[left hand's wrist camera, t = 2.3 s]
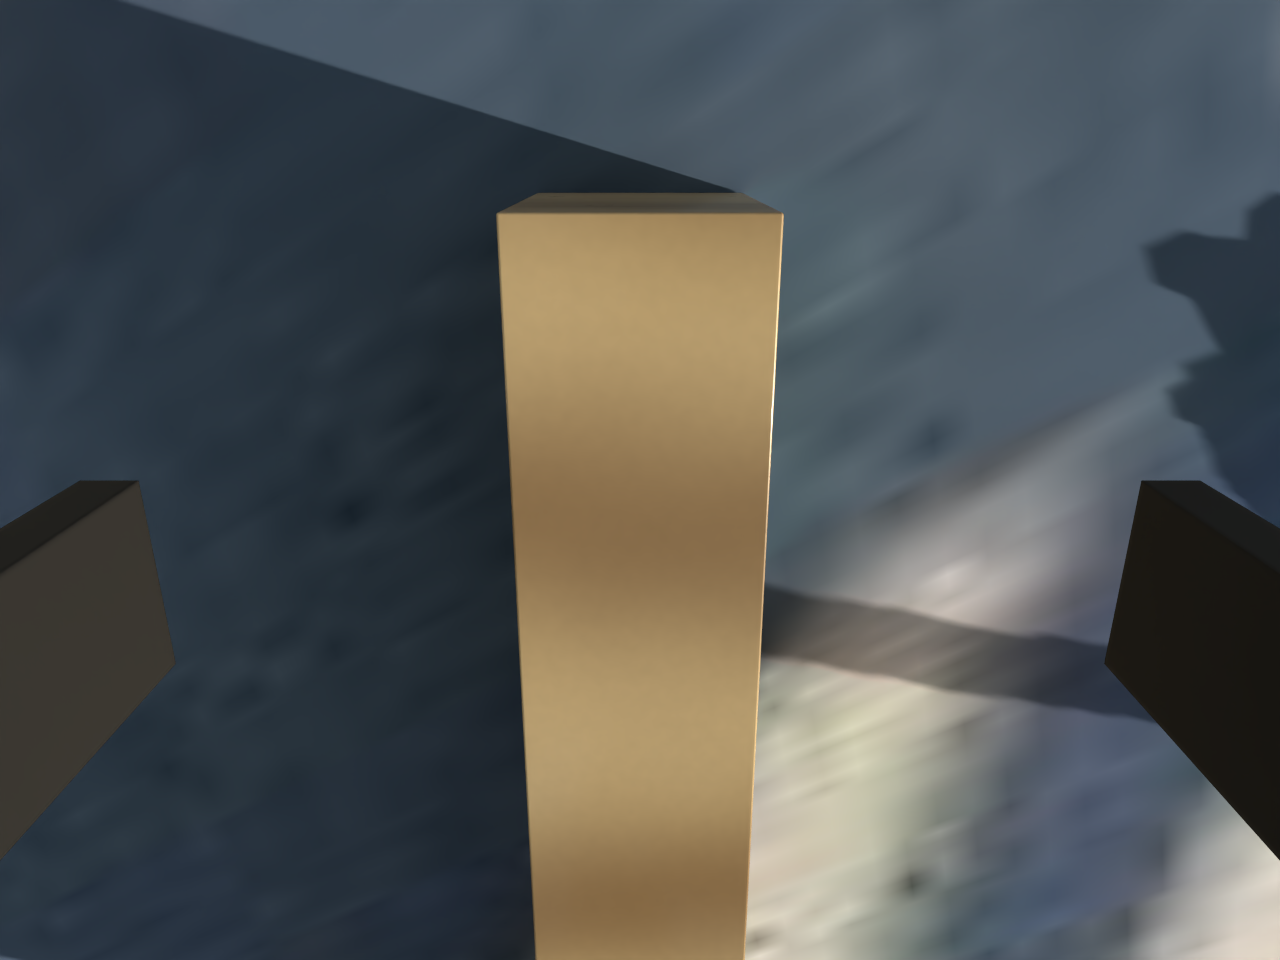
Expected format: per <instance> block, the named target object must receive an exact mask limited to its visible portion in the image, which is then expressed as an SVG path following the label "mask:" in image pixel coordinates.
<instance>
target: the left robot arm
mask: <svg viewBox="0 0 1280 960" xmlns="http://www.w3.org/2000/svg"><path fill="white" fill-rule="evenodd" d="M175 664H176V663H175V658H174V653H173V648H172V643H171V638H170V633H169V628H168V623H167V618H166V613H165V609H164V604H163V599H162V594H161V589H160V584H159V579H158V574H157V569H156V564H155V559H154V554H153V550H152V545H151V540H150V535H149V530H148V525H147V520H146V515H145V510H144V505H143V500H142V495H141V491H140V486H139V481H78V482H77V483H75V484H74V485H72V486H70V487H69V488H67V489H65V490H64V491H62V492H60V493H59V494H57V495H55V496H54V497H52V498H50V499H49V500H47V501H45V502H44V503H42V504H40V505H39V506H37V507H35V508H34V509H32V510H30V511H29V512H27V513H25V514H24V515H22V516H20V517H19V518H17V519H15V520H14V521H12V522H11V523H9V524H7V525H6V526H4V527H2V528H1V529H0V860H1V859H2V858H3V857H4V856H5V854H6V853H7V852H8V851H9V850H10V849H11V848H12V847H13V845H14V844H15V843H16V842H17V841H18V840H19V839H20V838H21V836H22V835H23V834H24V833H25V832H26V831H27V830H28V829H29V827H30V826H31V825H32V824H33V823H34V822H35V821H36V820H37V819H38V817H39V816H40V815H41V814H42V813H43V812H44V811H45V810H46V808H47V807H48V806H49V805H50V804H51V803H52V802H53V801H54V799H55V798H56V797H57V796H58V795H59V794H60V793H61V792H62V790H63V789H64V788H65V787H66V786H67V785H68V784H69V783H70V782H71V780H72V779H73V778H74V777H75V776H76V775H77V774H78V773H79V771H80V770H81V769H82V768H83V767H84V766H85V765H86V764H87V762H88V761H89V760H90V759H91V758H92V757H93V756H94V755H95V753H96V752H97V751H98V750H99V749H100V748H101V747H102V746H103V744H104V743H105V742H106V741H107V740H108V739H109V738H110V737H111V736H112V734H113V733H114V732H115V731H116V730H117V729H118V728H119V727H120V725H121V724H122V723H123V722H124V721H125V720H126V719H127V718H128V716H129V715H130V714H131V713H132V712H133V711H134V710H135V709H136V707H137V706H138V705H139V704H140V703H141V702H142V701H143V700H144V699H145V697H146V696H147V695H148V694H149V693H150V692H151V691H152V690H153V688H154V687H155V686H156V685H157V684H158V683H159V682H160V681H161V679H162V678H163V677H164V676H165V675H166V674H167V673H168V672H169V670H170V669H171V668H172V667H173V666H174V665H175ZM1104 664H1105V665H1106V666H1107V667H1108V668H1109V669H1110V670H1111V672H1112V673H1113V674H1114V675H1115V676H1116V677H1117V678H1118V679H1119V681H1120V682H1121V683H1122V684H1123V685H1124V686H1125V687H1126V688H1127V690H1128V691H1129V692H1130V693H1131V694H1132V695H1133V696H1134V697H1135V699H1136V700H1137V701H1138V702H1139V703H1140V704H1141V705H1142V706H1143V707H1144V709H1145V710H1146V711H1147V712H1148V713H1149V714H1150V715H1151V716H1152V718H1153V719H1154V720H1155V721H1156V722H1157V723H1158V724H1159V725H1160V727H1161V728H1162V729H1163V730H1164V731H1165V732H1166V733H1167V734H1168V736H1169V737H1170V738H1171V739H1172V740H1173V741H1174V742H1175V743H1176V744H1177V746H1178V747H1179V748H1180V749H1181V750H1182V751H1183V752H1184V753H1185V755H1186V756H1187V757H1188V758H1189V759H1190V760H1191V761H1192V762H1193V764H1194V765H1195V766H1196V767H1197V768H1198V769H1199V770H1200V771H1201V773H1202V774H1203V775H1204V776H1205V777H1206V778H1207V779H1208V780H1209V782H1210V783H1211V784H1212V785H1213V786H1214V787H1215V788H1216V789H1217V790H1218V792H1219V793H1220V794H1221V795H1222V796H1223V797H1224V798H1225V799H1226V801H1227V802H1228V803H1229V804H1230V805H1231V806H1232V807H1233V808H1234V810H1235V811H1236V812H1237V813H1238V814H1239V815H1240V816H1241V817H1242V819H1243V820H1244V821H1245V822H1246V823H1247V824H1248V825H1249V826H1250V827H1251V829H1252V830H1253V831H1254V832H1255V833H1256V834H1257V835H1258V836H1259V838H1260V839H1261V840H1262V841H1263V842H1264V843H1265V844H1266V845H1267V847H1268V848H1269V849H1270V850H1271V851H1272V852H1273V853H1274V854H1275V856H1276V857H1277V858H1278V859H1279V860H1280V529H1279V528H1278V527H1276V526H1274V525H1273V524H1271V523H1269V522H1268V521H1266V520H1265V519H1263V518H1261V517H1260V516H1258V515H1256V514H1255V513H1253V512H1251V511H1250V510H1248V509H1246V508H1245V507H1243V506H1241V505H1240V504H1238V503H1236V502H1235V501H1233V500H1231V499H1230V498H1228V497H1226V496H1225V495H1223V494H1221V493H1220V492H1218V491H1216V490H1215V489H1213V488H1211V487H1210V486H1208V485H1206V484H1205V483H1203V482H1202V481H1141V486H1140V491H1139V495H1138V500H1137V505H1136V510H1135V515H1134V520H1133V525H1132V530H1131V535H1130V540H1129V545H1128V550H1127V554H1126V559H1125V564H1124V569H1123V574H1122V579H1121V584H1120V589H1119V594H1118V599H1117V604H1116V609H1115V613H1114V618H1113V623H1112V628H1111V633H1110V638H1109V643H1108V648H1107V653H1106V658H1105V663H1104Z"/></svg>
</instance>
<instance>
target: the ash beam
mask: <svg viewBox="0 0 1280 960" xmlns="http://www.w3.org/2000/svg"><path fill="white" fill-rule="evenodd" d="M783 217H784V215H783V213H782V212H780V211H777V210H775V209H773V208H771V207H769V206H767V205H765V204H763V203H761V202H759V201H757V200H755V199H753V198H751V197H749V196H747V195H745V194H743V193H537V194H535V195H533V196H531V197H529V198H527V199H525V200H523V201H521V202H519V203H517V204H515V205H513V206H510V207H508V208H506V209H504V210H502V211H500V212H498V213H497V214H496V221H497V240H498V259H499V278H500V297H501V316H502V335H503V354H504V373H505V392H506V411H507V430H508V449H509V468H510V487H511V506H512V525H513V544H514V563H515V582H516V601H517V620H518V639H519V658H520V677H521V696H522V715H523V734H524V753H525V772H526V791H527V810H528V829H529V847H530V866H531V885H532V904H533V923H534V942H535V960H744V959H745V940H746V921H747V902H748V883H749V864H750V845H751V826H752V807H753V788H754V769H755V750H756V731H757V712H758V693H759V674H760V655H761V636H762V617H763V598H764V579H765V560H766V541H767V522H768V503H769V484H770V465H771V446H772V427H773V408H774V389H775V370H776V351H777V332H778V313H779V294H780V274H781V255H782V236H783Z"/></svg>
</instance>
